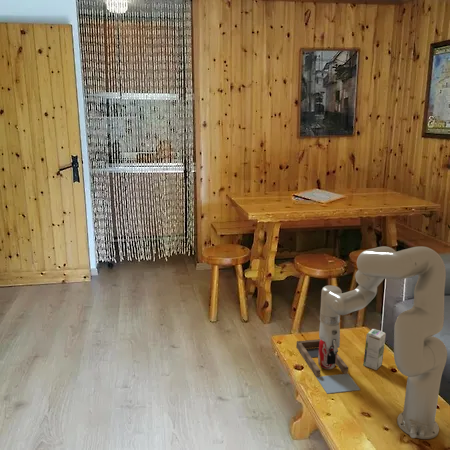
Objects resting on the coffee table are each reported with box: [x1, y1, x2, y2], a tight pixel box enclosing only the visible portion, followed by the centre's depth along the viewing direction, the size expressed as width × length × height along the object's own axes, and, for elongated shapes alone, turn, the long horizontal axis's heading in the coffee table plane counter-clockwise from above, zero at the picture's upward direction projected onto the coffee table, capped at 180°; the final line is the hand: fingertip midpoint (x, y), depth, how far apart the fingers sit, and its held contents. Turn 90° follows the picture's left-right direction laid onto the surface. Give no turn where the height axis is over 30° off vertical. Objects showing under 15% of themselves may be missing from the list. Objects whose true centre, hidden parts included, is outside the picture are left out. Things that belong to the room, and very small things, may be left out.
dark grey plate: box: [306, 347, 319, 359], centre depth 196 cm, size 7×10×1 cm
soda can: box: [317, 337, 338, 370], centre depth 183 cm, size 7×7×12 cm
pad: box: [315, 373, 361, 395], centre depth 174 cm, size 10×13×1 cm
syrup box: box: [362, 328, 387, 371], centre depth 185 cm, size 6×6×14 cm
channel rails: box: [295, 338, 349, 378], centre depth 190 cm, size 23×13×3 cm, turn 11°
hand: (327, 358), depth 184 cm, fingers closed on soda can, 6 cm apart
